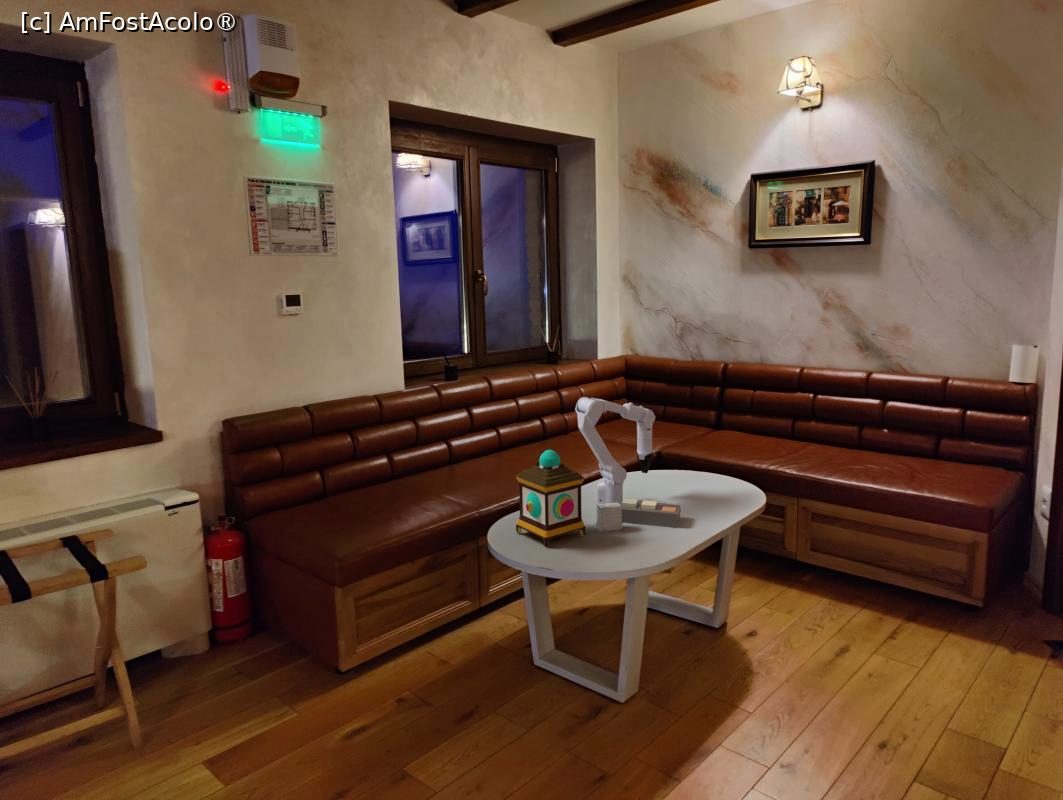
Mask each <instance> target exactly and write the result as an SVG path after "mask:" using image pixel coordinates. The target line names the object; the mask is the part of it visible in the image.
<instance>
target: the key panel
mask: <svg viewBox="0 0 1063 800" xmlns="http://www.w3.org/2000/svg"><path fill="white" fill-rule="evenodd" d="M642 502H643V501H639V500H638V506H637V508H625V507H622V523H623V524H624V523H625V524H633V525H643V526H644V525H645V526H656V527H667V528H676V529H677V528H678V527H679V523H680V520H681V511H682V510H681V509H682V508H681V507H682V506H681V505H682V504H675V503H674V504H673V503H664V502H663V503H660V502H657V509H656V510H648V509H641V504H642ZM620 505H621V506H622V502H621V504H620ZM663 506H667V507H677V511H676V512H672V511H661V509H662V507H663Z"/></svg>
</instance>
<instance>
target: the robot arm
mask: <svg viewBox="0 0 1063 800" xmlns="http://www.w3.org/2000/svg"><path fill="white" fill-rule="evenodd" d="M574 411H575V412H576V414H577V417H576V418H577V427H578V430H579V431H580V433H581V434H582V436H583V437H584V439H585V441H586V443H587V445H589V448H590V449H591V451H592V453H593V454H594V457H595V458H596V459H597V461H598V468H599V471H600V475H601V477H602V478H603V479H602V480H599V481H598V484H597V504H605V503H619V504H621V502H622V501H623V500H624V497H623V495H624V494H623V493H624V492H623V491H624V489H623V488H624V482H625V481H626V479H627V476H628V475H627V470H626V469H625V468H624V467H622V466H621V464H620V463H619V462H617V461H616V459H614V457H613V456H612V454H611V452H610V451H609V449H608V447H607V446H606V444H605V442H604V440H603V439H602V437H601V436H600V434H599V432H598V430H597V429H596V427H595V426H596V424H597V423H598V421H599V420H600V417H602V414H605V413H606V412H607V411H609V412H612V413H613V412H614V413H617V414H620V416H621V417H622V418H623V419H626V420H629V421H634V422H636V437H637V439H636V442H637V443H636V444H637V445H636V446H637V447H636V448H637V449H636V453H637V456H636V459H637V460H638V463H639V465H640V470H641V473H642V474H648V473H649V468H650V464H651V460H652V457H653V453H656V449H654V448H653V426H654V422H655V420H656V415H655V413H654V411H653V410H652V409H649V408H645V407H644V406H642V405H639V406H638V405H634V403H633V402H629V403H624V404H623V405H621V404H618V403H615V402H611V401H608V400H604V399H601V398H595V397H590V398H589V397H587V396H582V397H580V398H579V399H578V400H577V402H576V404H575V409H574Z"/></svg>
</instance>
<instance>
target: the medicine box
mask: <svg viewBox="0 0 1063 800" xmlns="http://www.w3.org/2000/svg"><path fill="white" fill-rule="evenodd" d="M622 526H623V525H622V506H621V505H620V504H619V503H605V504H598V503H597V504H596V528H597V529H598V531H599V532H607V531H617V530H623V527H622Z"/></svg>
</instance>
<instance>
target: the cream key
mask: <svg viewBox="0 0 1063 800" xmlns="http://www.w3.org/2000/svg"><path fill="white" fill-rule="evenodd" d="M641 502H642V504H641V509H648V510H656V509H657V503H658V501H657V500H647V499H646V500H645V499H643V500H642V501H641Z"/></svg>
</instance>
